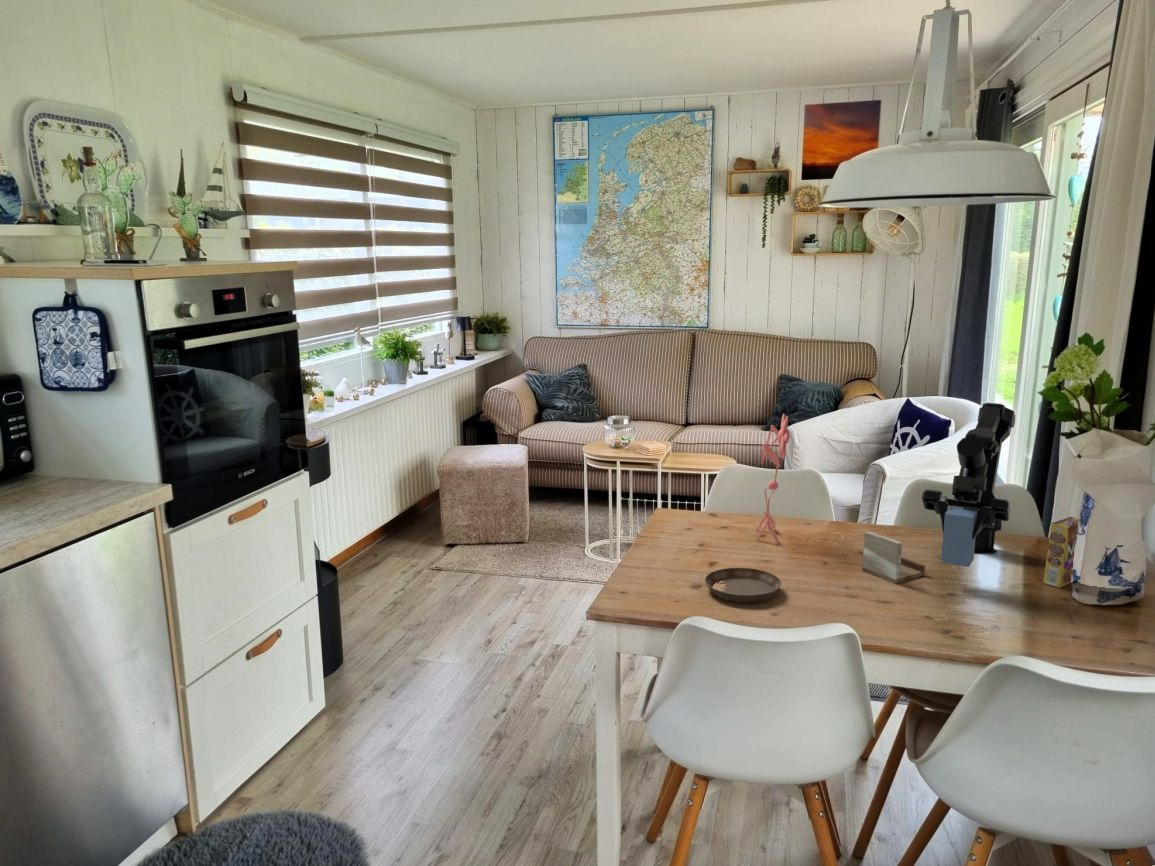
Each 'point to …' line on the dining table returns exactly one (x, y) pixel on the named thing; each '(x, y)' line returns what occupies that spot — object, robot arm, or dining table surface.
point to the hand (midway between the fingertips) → (958, 535)
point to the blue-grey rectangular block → (959, 537)
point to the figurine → (783, 439)
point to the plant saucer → (744, 584)
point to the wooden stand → (888, 559)
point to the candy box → (1061, 552)
